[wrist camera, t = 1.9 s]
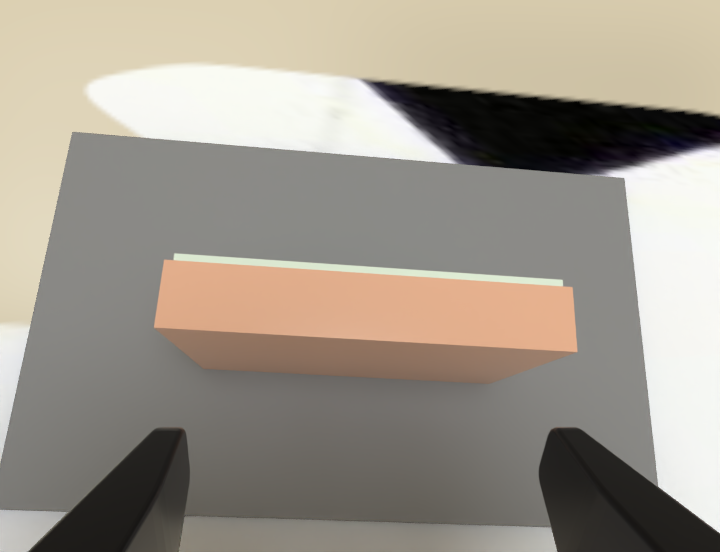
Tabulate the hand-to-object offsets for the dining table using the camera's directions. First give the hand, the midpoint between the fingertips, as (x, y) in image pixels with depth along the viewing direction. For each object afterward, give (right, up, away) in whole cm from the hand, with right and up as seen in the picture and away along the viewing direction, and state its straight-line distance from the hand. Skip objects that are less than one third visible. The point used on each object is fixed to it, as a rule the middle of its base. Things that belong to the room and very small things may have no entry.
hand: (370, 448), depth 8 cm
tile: (-1, 0, +14) cm, 14 cm away
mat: (-1, +1, +14) cm, 14 cm away
